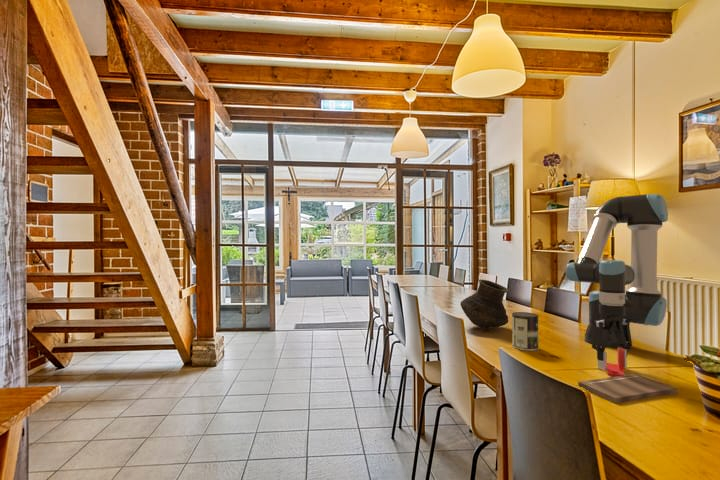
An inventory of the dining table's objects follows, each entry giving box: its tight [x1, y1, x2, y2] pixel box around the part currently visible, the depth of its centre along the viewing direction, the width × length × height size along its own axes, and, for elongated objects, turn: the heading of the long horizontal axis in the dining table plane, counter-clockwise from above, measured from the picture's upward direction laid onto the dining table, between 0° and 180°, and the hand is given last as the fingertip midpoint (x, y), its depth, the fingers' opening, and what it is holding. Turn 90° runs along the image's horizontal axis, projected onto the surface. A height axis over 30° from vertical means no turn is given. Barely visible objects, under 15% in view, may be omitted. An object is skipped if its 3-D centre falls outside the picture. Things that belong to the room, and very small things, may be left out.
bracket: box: [606, 347, 625, 377], centre depth 124 cm, size 12×4×8 cm, turn 147°
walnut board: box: [577, 373, 678, 404], centre depth 109 cm, size 24×12×2 cm, turn 106°
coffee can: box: [511, 311, 539, 352], centre depth 153 cm, size 10×10×14 cm
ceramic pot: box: [460, 279, 509, 329], centre depth 186 cm, size 24×24×22 cm
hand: (612, 368), depth 127 cm, fingers open, 8 cm apart
